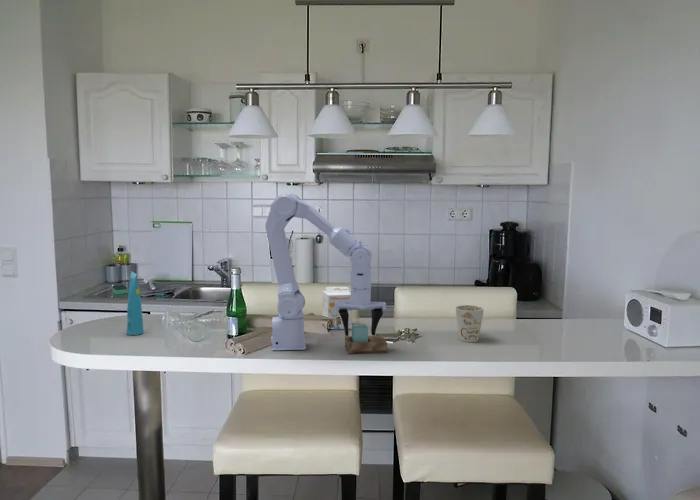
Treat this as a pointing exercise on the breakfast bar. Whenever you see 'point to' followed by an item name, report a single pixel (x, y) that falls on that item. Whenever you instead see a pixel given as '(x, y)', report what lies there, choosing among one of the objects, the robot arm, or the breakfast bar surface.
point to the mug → (469, 322)
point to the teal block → (359, 333)
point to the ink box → (336, 297)
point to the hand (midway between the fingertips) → (359, 334)
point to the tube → (134, 308)
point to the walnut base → (366, 345)
